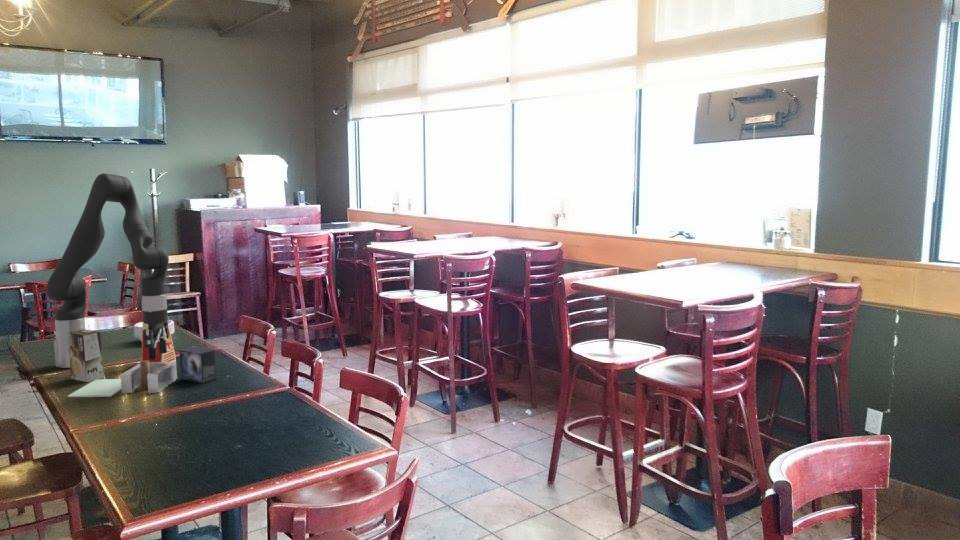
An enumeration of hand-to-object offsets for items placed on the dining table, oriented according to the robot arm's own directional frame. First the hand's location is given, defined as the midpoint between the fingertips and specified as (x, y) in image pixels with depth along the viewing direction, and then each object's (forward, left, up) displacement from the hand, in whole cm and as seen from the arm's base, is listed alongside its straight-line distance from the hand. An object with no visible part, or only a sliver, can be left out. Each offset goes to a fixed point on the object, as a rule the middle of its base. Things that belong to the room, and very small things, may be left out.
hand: (158, 356), depth 234 cm
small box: (+13, 0, -9) cm, 15 cm away
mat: (-14, -9, -8) cm, 19 cm away
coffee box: (-25, +3, -9) cm, 27 cm away
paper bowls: (-25, +58, -9) cm, 64 cm away
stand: (0, -10, -8) cm, 13 cm away
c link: (0, -7, -8) cm, 11 cm away
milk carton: (-9, +21, -9) cm, 25 cm away
